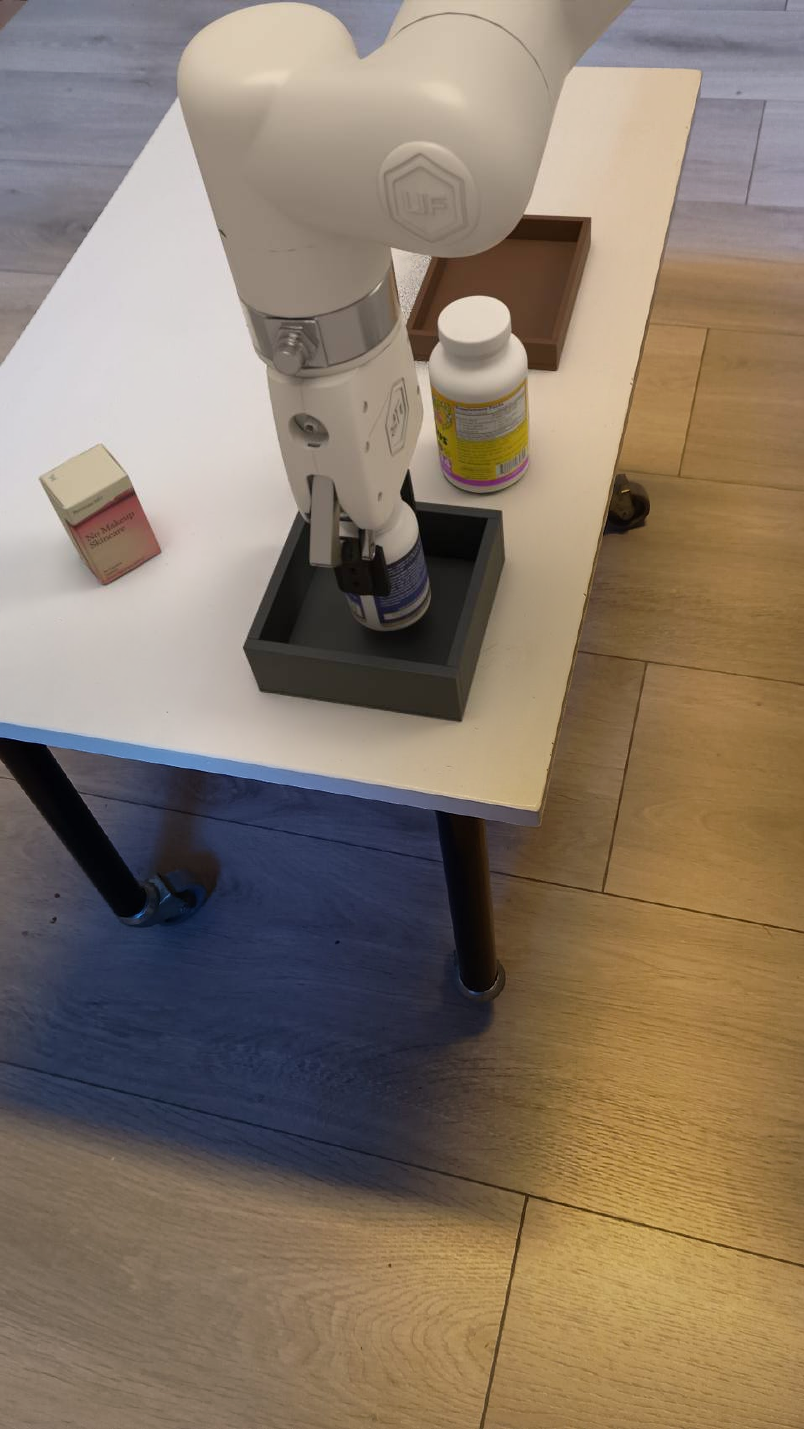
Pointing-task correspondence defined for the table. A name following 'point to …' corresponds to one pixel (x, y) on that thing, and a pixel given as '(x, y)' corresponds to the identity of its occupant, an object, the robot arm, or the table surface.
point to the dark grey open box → (382, 664)
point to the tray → (512, 285)
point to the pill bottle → (395, 574)
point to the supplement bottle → (480, 396)
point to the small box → (101, 513)
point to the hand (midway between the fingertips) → (379, 550)
